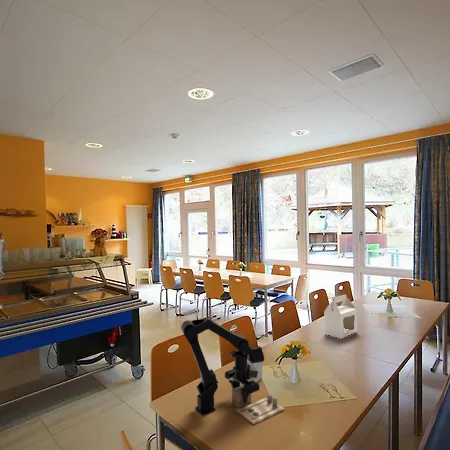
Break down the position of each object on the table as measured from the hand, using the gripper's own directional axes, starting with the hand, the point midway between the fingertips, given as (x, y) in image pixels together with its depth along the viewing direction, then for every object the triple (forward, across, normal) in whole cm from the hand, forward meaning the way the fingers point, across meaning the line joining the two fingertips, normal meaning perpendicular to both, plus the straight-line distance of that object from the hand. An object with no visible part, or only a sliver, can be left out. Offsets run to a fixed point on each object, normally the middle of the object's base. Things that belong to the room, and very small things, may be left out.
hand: (241, 399), depth 139 cm
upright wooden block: (+1, 0, 0) cm, 1 cm away
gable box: (+2, +29, -115) cm, 119 cm away
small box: (+2, +13, -18) cm, 22 cm away
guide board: (+1, -10, -2) cm, 10 cm away
